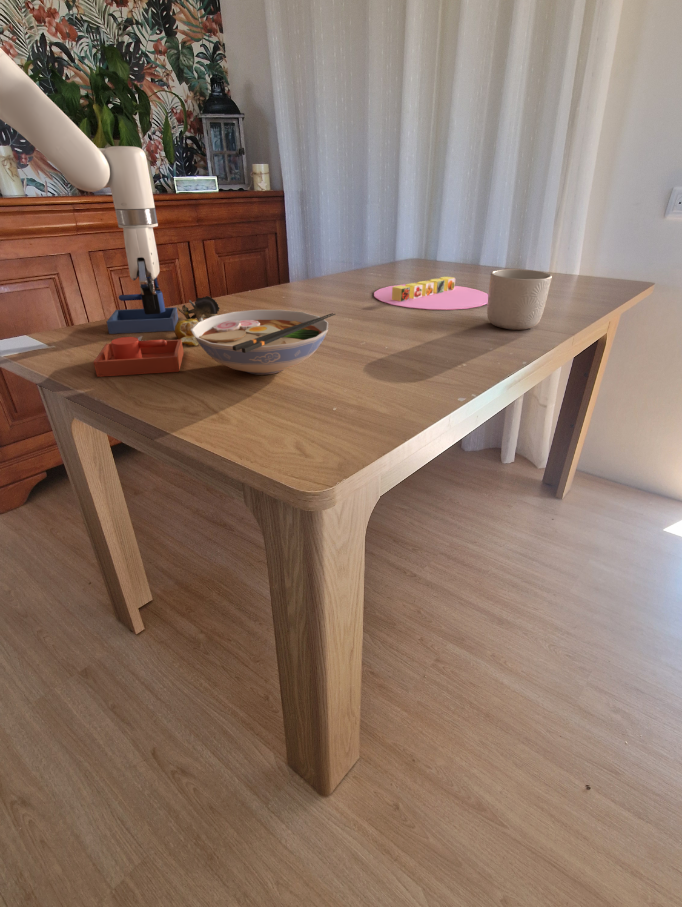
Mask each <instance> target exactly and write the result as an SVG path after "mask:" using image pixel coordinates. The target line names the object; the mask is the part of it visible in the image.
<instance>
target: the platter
mask: <svg viewBox="0 0 682 907" xmlns="http://www.w3.org/2000/svg"><path fill="white" fill-rule="evenodd" d="M455 284H456V277H452V276H441V277H438V278H431V279H428V280H421V281H416V282H411V283H403V284H396V285H395V284H394V285H389V286H386V287H381V288H379V289H377V290H376V291H374V292H373V297H374V298H375V299H377V300H378V301H380V302H381V303H385V304H388V305H391V306H397V307H402V308H407V309H416V310H419V309H420V310H428V311H430V310H432V311H434V310H435V311H437V310H438V311H439V310H440V311H441V310H442V311H453V310H465V309H473V308H477V307H483V306H484V305H487V304H488V294H489V293H487V292H484V291H482V290H479V289H475V288H472V287H469V286H468V287H467V286H462V285H461V286H460V285H455Z"/></svg>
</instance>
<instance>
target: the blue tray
mask: <svg viewBox="0 0 682 907" xmlns="http://www.w3.org/2000/svg"><path fill="white" fill-rule="evenodd" d="M177 307H178V306H177ZM177 307H175V306H173V307H165V312H162V313H160V314H145V313H144V309H143V308H130V309H129V308H128V309H115V310H114V311H113V313H112V314H111V315H110V317H109V318H108V319H107V320H106V326H107V330H108V334H109V335H115V334H116V335H117V334H135V333H136V334H137V333H157V332H174V330H175V326H176V324H177V323H178V322H179V314H178V308H177Z"/></svg>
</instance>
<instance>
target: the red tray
mask: <svg viewBox="0 0 682 907" xmlns="http://www.w3.org/2000/svg"><path fill="white" fill-rule="evenodd" d="M166 342H167V345H166V346H164V347H147V348H140V349H141V354H142V358H134V359H118V360H115V357H114V352H113V348H112V344H111V342H110V343H109V342H107V343H105V344H104V346H103V348H102V349H101V350H100V352H99V353H98V355H97V356H96V358H95V359H94V361H93V366H94V370H95V374H96V377H97V378H99V377H100V378H101V377H115V376H132V375H145V374H146V375H147V374H161V373H162V374H163V373H164V374H165V373H176V372H177V373H179V372H180V370H181V365H182V361H183V357H184V353H185V352H184V347H183V344H182V340H178V339H166Z"/></svg>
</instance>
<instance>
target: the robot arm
mask: <svg viewBox="0 0 682 907" xmlns="http://www.w3.org/2000/svg"><path fill="white" fill-rule="evenodd" d="M0 121H2V122H3V123H5V124H7V125H8V126H9V127H11V128H12V129H13V130H15V131H16V132H18V133H19V135H21V136H22V137H23V138H24V139H26V140H27V141H28V142H29V143H30V144H31V145H32V146H33V147H34V148H35V149H36V150H37V151H38V152H40V154H42V155H43V156H44V158H46V159H47V160H48V161H49V162H50V163H51V164H52V165H53V166H54V167H55V168H56V169H57V170H58V171H59V173H61V174H62V175H63V177H64V178H65V180H66V181H67V182H68V183H69V184H70V185H71V186H73V187H74V188H76V189H78V190H80V191H84V192H87V193H89V192H91V193H93V192H94V193H95V192H99V191H100V190H103V189H106V188H110V193H111V197H112V201H113V206H114V207H113V208H114V210H115V216H116V221H117V226H118V228H120V229H122V231H123V240H124V248H125V253H126V260H127V265H128V272H129V277H130V279H131V280H132V281H136V280H137V279H138V281H139V288H140V289H139V290H140V294H141V297H142V300H141V303H142V302H143V304H142V308H143V307H144V312H145V314H160V312H161V311H160V305H159V300H158V294H156V291H161V288H160V283H159V278H158V276H159V274H160V261H159V255H158V249H157V243H156V238H155V233H154V228H155V227H156V228H157V227H159V223H158V217H157V212H156V206H155V205H156V204H155V199H154V194H153V188H152V183H151V177H150V171H149V165H148V164H149V163H148V159H147V155H146V152H145V151H144V150H143V149H142V148H141V147H138V146H132V145H131V146H130V145H113V146H112V145H111V146H108V147H106V148H102V147H97V145H96V144H94V142H93V141H92V140H91V139H90V138H89V137H88V136H87V135H86V134H85V133H84V132H83V131H82V130H81V129H80V128H79V127H78V125H77V124H76V123H74V122H73V120H72V119H71V118H70V117H68V116H67V114H66V113H64V111H63V110H62V109H61V108H59V106H58V105H57V104H56V103H55V102H53V101H52V99H51V98H50V97H48V95H47V94H45V92H44V91H43V90H42V89H41V88H40V87H39V86H38V84H36V83H35V82H34V80H33V79H32V78H31V77H30V76H29V75H28V74H27V73H26V72H25V71H24V70H23V69H22V68H21V67H20V66H19V65H18V64H17V63H16V62H15V61H14V59H12V58H11V57H10V56H9V55H8V54H7V52H5V51H4V50H3V49H2V48H1V47H0Z"/></svg>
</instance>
